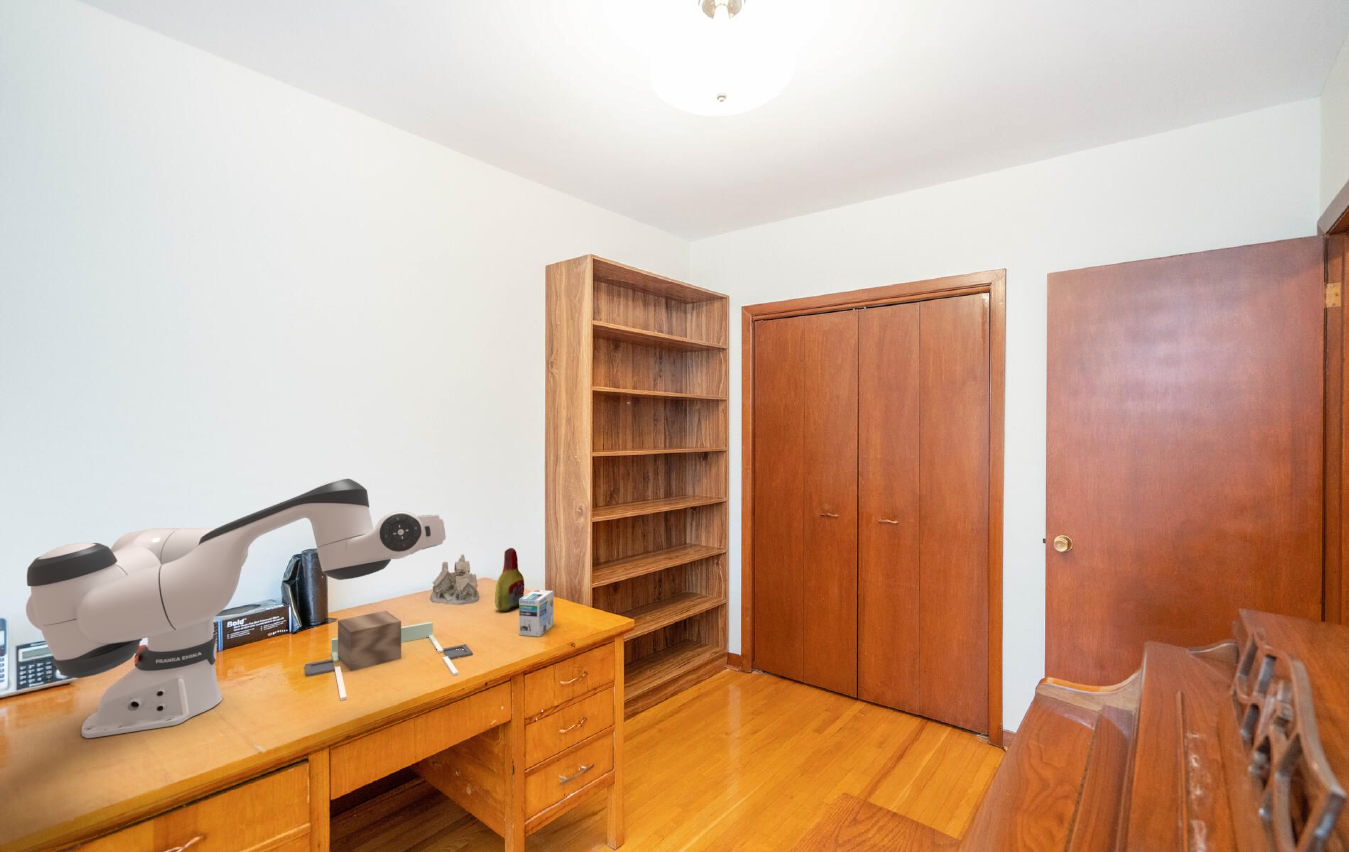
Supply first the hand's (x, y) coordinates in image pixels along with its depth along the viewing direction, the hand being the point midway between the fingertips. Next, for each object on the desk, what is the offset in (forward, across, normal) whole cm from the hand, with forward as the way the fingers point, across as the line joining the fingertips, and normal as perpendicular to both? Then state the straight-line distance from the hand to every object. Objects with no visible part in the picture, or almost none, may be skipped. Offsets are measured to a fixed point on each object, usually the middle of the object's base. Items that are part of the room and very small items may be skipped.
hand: (394, 540), depth 134 cm
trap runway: (+29, -3, -30) cm, 42 cm away
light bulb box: (+37, +36, -33) cm, 61 cm away
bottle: (+61, +34, -27) cm, 75 cm away
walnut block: (+36, -8, -28) cm, 46 cm away
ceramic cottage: (+80, +20, -21) cm, 85 cm away
